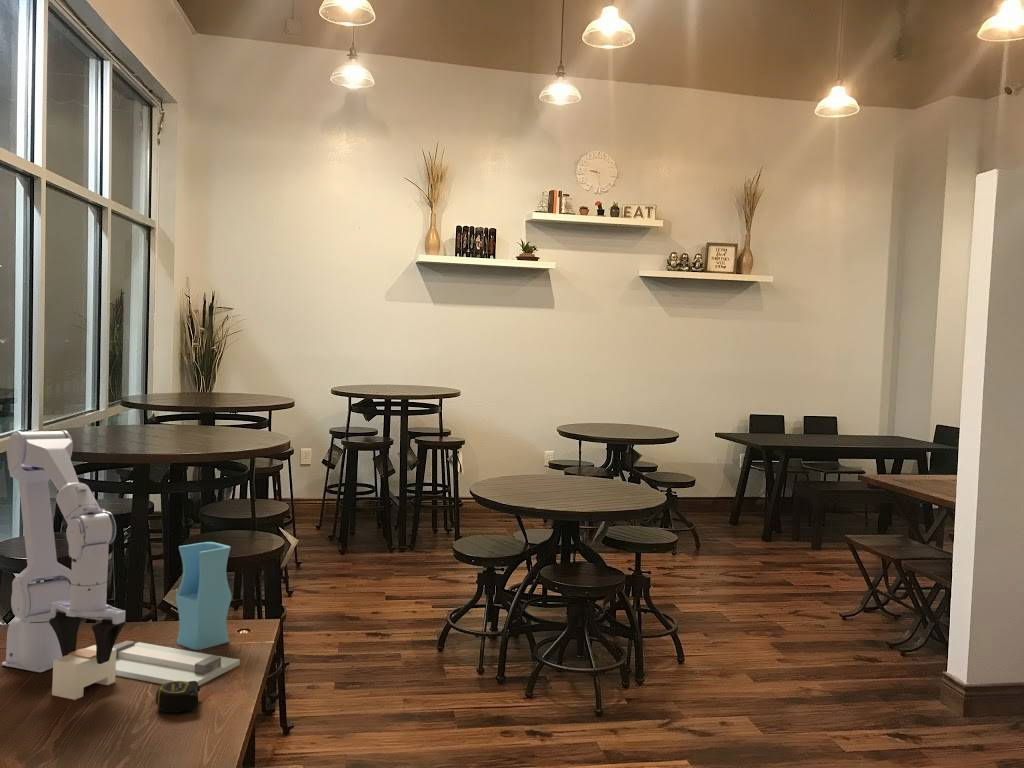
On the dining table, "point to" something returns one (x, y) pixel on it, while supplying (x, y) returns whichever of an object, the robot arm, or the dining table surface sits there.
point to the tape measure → (177, 696)
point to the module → (81, 672)
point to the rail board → (168, 663)
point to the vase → (203, 595)
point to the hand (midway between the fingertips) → (85, 659)
